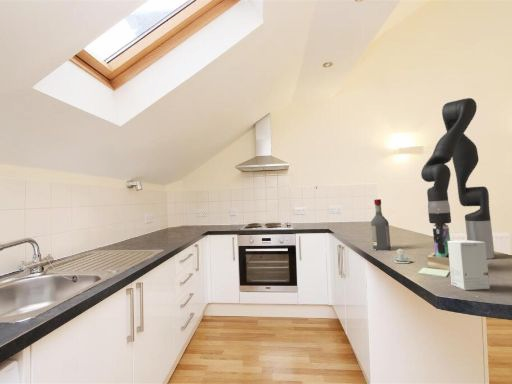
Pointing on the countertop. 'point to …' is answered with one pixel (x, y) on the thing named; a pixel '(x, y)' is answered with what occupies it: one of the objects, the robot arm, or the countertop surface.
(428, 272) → the mat
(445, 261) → the wooden box holder
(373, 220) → the liquor
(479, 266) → the skincare box
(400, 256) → the pacifier
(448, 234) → the spray can
